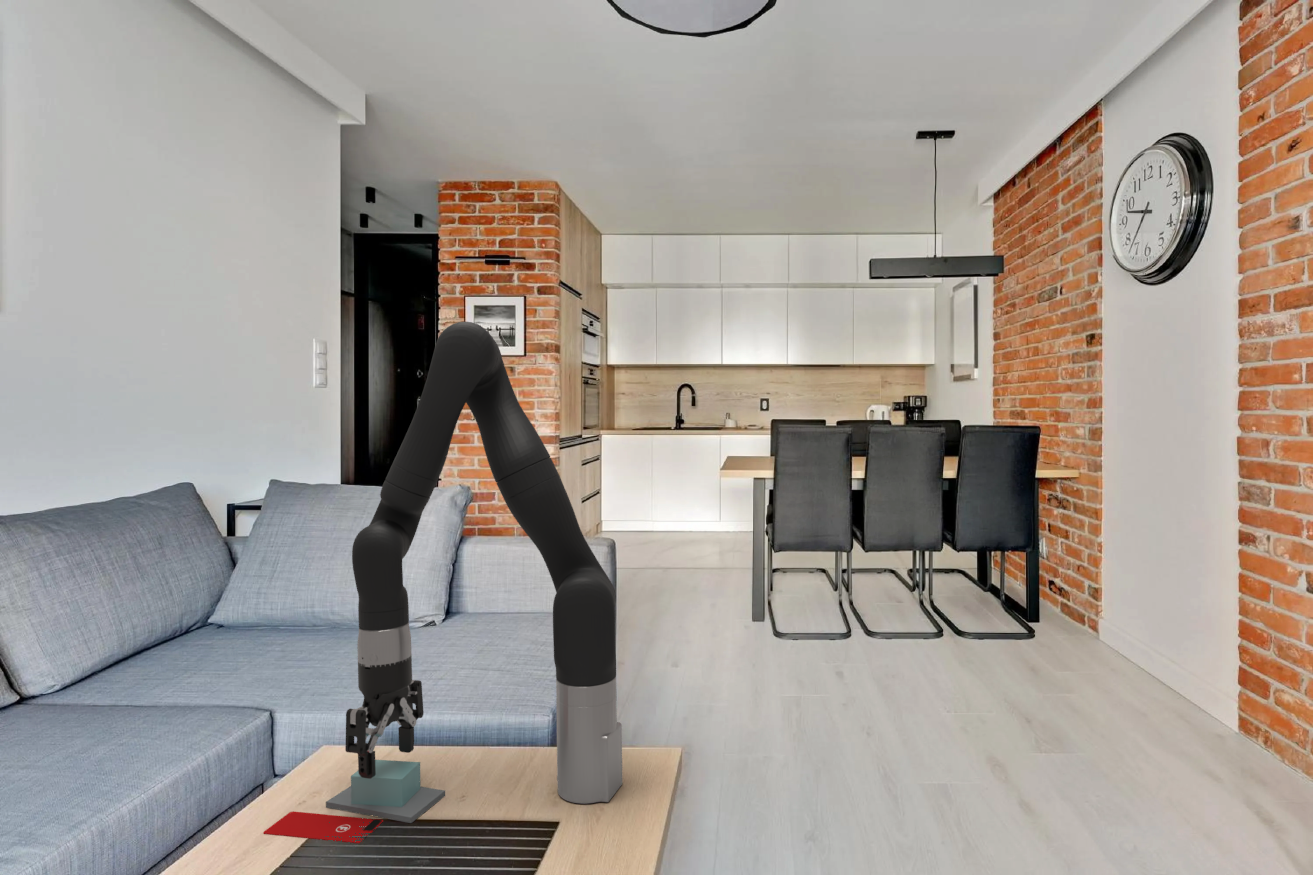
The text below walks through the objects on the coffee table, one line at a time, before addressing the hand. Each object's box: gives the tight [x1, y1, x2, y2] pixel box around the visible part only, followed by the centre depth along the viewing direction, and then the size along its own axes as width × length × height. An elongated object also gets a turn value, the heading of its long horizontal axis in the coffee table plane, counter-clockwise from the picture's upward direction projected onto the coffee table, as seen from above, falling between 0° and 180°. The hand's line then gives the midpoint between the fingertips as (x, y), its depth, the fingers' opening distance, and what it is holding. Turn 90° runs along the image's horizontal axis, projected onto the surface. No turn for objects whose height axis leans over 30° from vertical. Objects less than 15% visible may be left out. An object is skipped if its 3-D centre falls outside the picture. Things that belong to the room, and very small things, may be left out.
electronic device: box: [262, 811, 384, 844], centre depth 98 cm, size 6×1×15 cm
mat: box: [325, 785, 446, 824], centre depth 104 cm, size 15×8×1 cm, turn 72°
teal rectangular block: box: [350, 759, 421, 807], centre depth 104 cm, size 6×8×4 cm
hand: (387, 763), depth 104 cm, fingers open, 8 cm apart
